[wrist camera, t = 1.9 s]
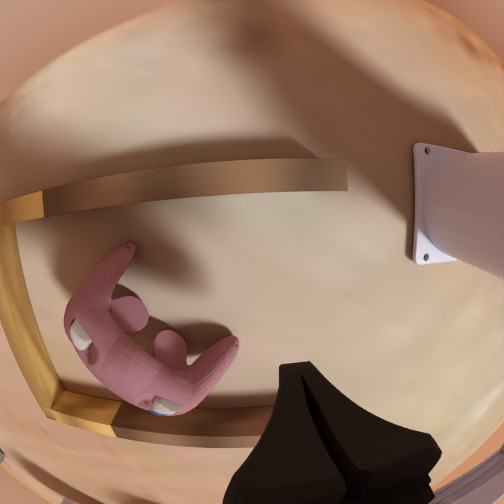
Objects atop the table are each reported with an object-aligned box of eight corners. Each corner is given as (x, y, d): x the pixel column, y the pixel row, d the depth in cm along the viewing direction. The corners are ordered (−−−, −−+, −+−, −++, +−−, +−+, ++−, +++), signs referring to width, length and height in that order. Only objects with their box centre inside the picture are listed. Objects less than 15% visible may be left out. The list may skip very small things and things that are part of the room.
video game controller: (108, 266, 17) (42, 332, 12) (130, 229, 15) (42, 304, 9) (211, 357, 19) (170, 436, 13) (251, 339, 16) (208, 439, 11)
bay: (327, 164, 15) (346, 159, 12) (316, 412, 19) (324, 439, 16) (2, 206, 14) (-23, 210, 11) (59, 399, 18) (46, 417, 15)
